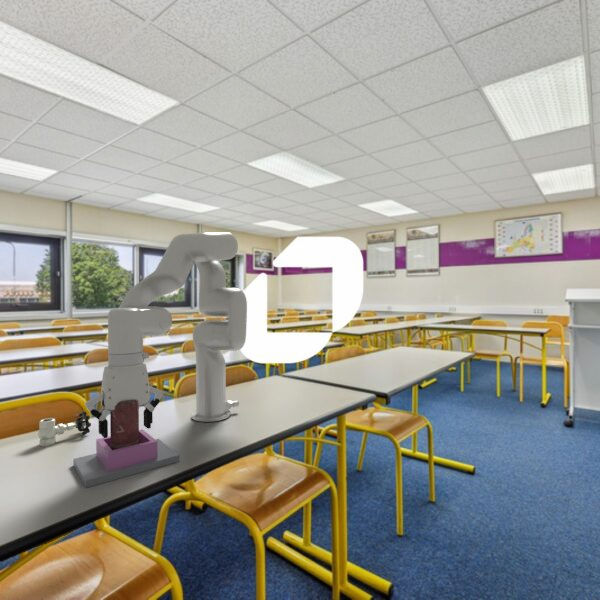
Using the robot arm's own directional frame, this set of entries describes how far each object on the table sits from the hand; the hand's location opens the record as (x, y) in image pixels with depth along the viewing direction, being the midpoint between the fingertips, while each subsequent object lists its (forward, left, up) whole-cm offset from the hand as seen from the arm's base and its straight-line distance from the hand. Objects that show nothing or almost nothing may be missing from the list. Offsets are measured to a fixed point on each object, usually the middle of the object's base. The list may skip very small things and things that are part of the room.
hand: (126, 431), depth 92 cm
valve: (+9, -28, -8) cm, 30 cm away
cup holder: (0, 0, -8) cm, 8 cm away
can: (0, +1, -6) cm, 6 cm away
